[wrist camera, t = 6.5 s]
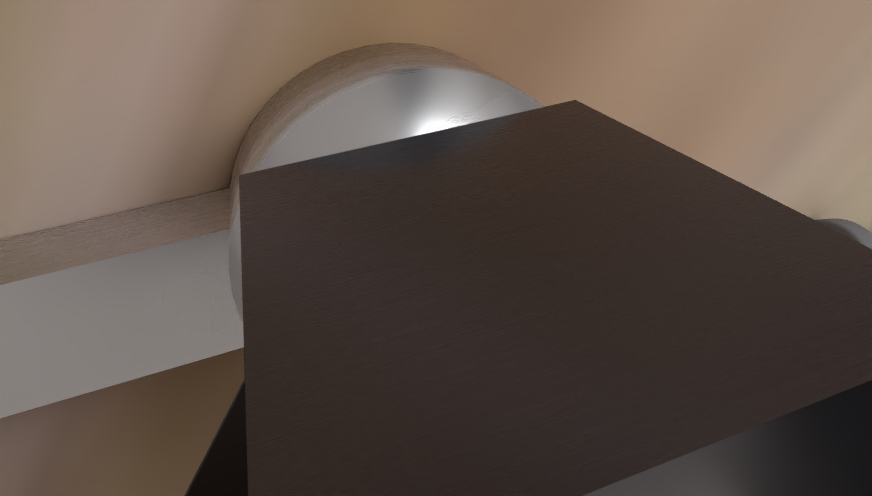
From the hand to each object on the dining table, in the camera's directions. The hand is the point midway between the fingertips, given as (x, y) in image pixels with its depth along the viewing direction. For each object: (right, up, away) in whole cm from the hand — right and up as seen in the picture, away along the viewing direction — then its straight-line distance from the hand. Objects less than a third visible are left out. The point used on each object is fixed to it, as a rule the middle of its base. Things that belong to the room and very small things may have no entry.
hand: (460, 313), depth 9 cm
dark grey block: (0, +1, +1) cm, 1 cm away
